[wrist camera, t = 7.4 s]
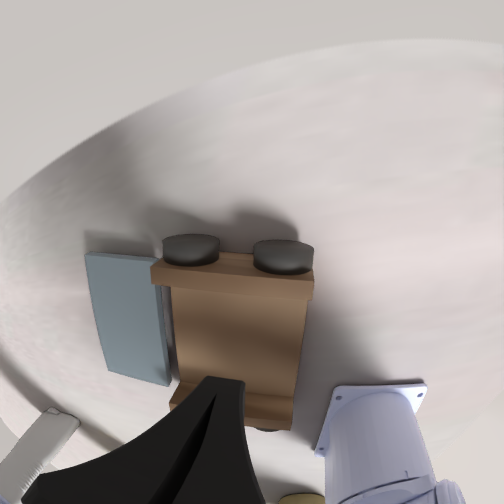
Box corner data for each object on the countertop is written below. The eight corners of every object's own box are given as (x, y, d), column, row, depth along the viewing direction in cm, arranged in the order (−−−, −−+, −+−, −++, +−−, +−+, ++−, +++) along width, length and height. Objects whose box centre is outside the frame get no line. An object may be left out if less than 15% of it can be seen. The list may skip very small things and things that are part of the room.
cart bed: (290, 403, 21) (288, 438, 17) (187, 389, 22) (172, 420, 18) (312, 242, 17) (316, 261, 13) (175, 232, 18) (148, 248, 14)
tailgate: (168, 386, 20) (108, 370, 21) (173, 377, 21) (114, 362, 22) (153, 262, 17) (84, 254, 18) (161, 256, 18) (94, 250, 19)
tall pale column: (51, 425, 30) (-19, 513, 9) (35, 405, 29) (-42, 491, 8) (90, 431, 27) (10, 546, 6) (71, 408, 26) (-20, 523, 6)
